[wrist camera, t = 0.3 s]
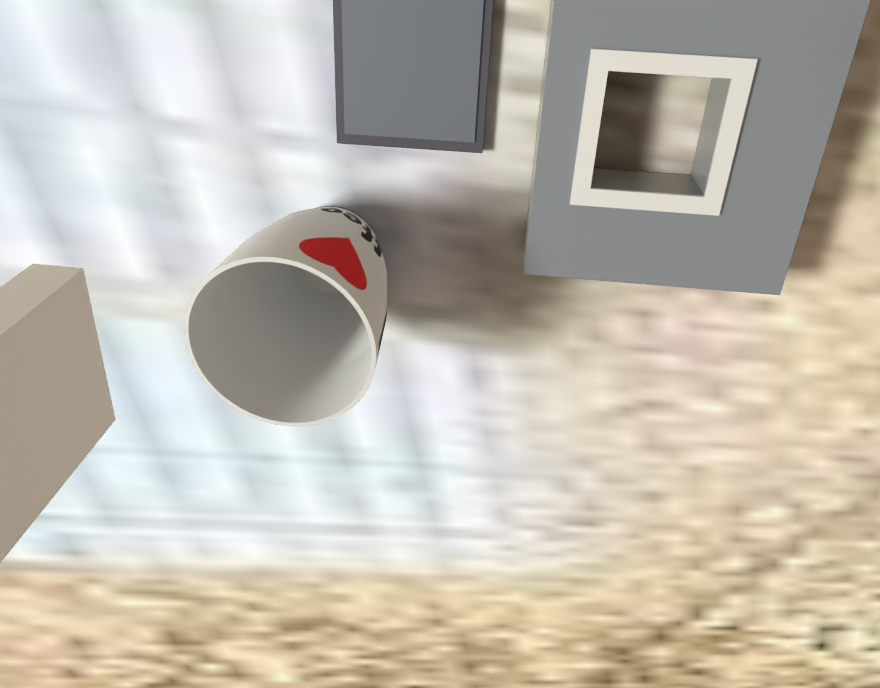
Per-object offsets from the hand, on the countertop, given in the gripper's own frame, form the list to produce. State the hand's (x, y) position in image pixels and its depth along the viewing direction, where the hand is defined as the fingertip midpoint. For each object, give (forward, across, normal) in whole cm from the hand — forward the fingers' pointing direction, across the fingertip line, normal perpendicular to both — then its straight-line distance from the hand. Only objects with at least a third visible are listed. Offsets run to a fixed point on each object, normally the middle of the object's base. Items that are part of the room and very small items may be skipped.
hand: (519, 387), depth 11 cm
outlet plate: (+26, +7, 0) cm, 27 cm away
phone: (+27, -5, +3) cm, 28 cm away
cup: (+27, -9, -10) cm, 30 cm away
